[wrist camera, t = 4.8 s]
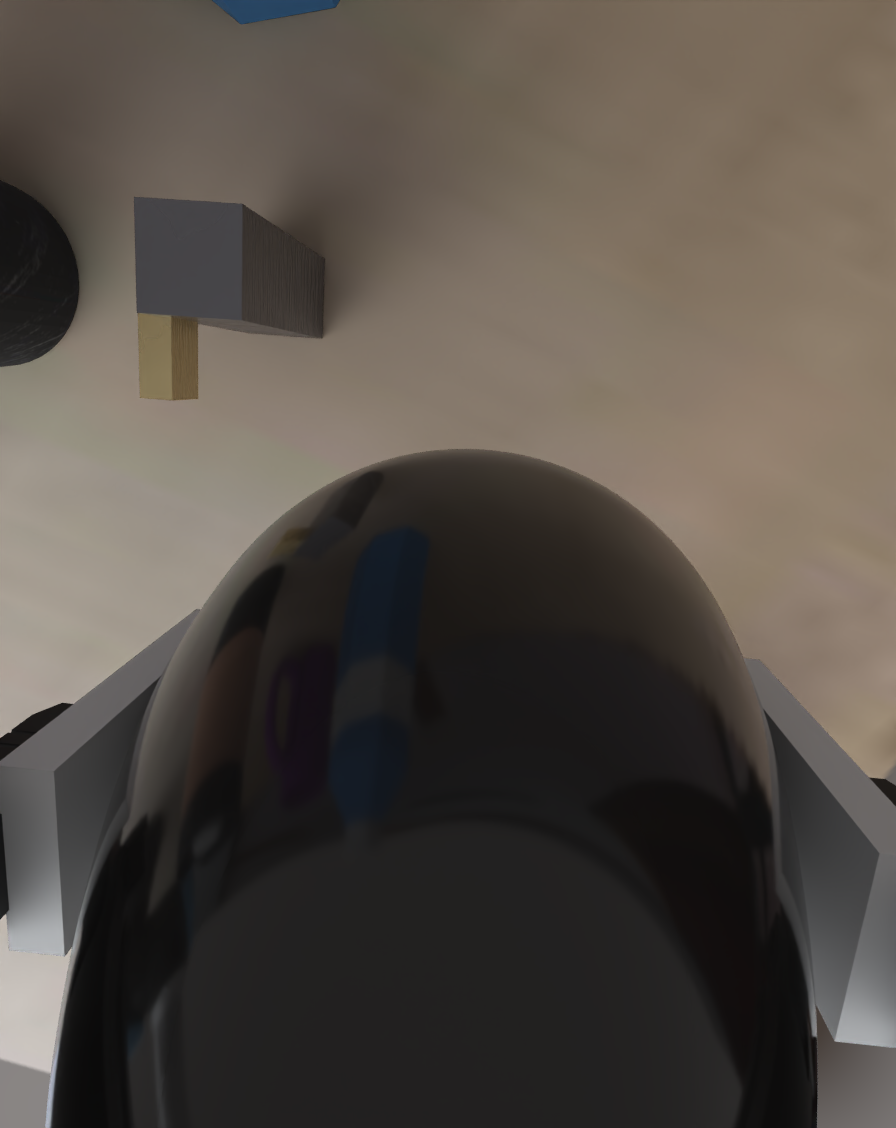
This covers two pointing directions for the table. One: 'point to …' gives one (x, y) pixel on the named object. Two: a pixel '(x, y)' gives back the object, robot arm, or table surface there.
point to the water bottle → (271, 8)
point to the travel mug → (33, 279)
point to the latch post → (214, 285)
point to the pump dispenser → (447, 835)
